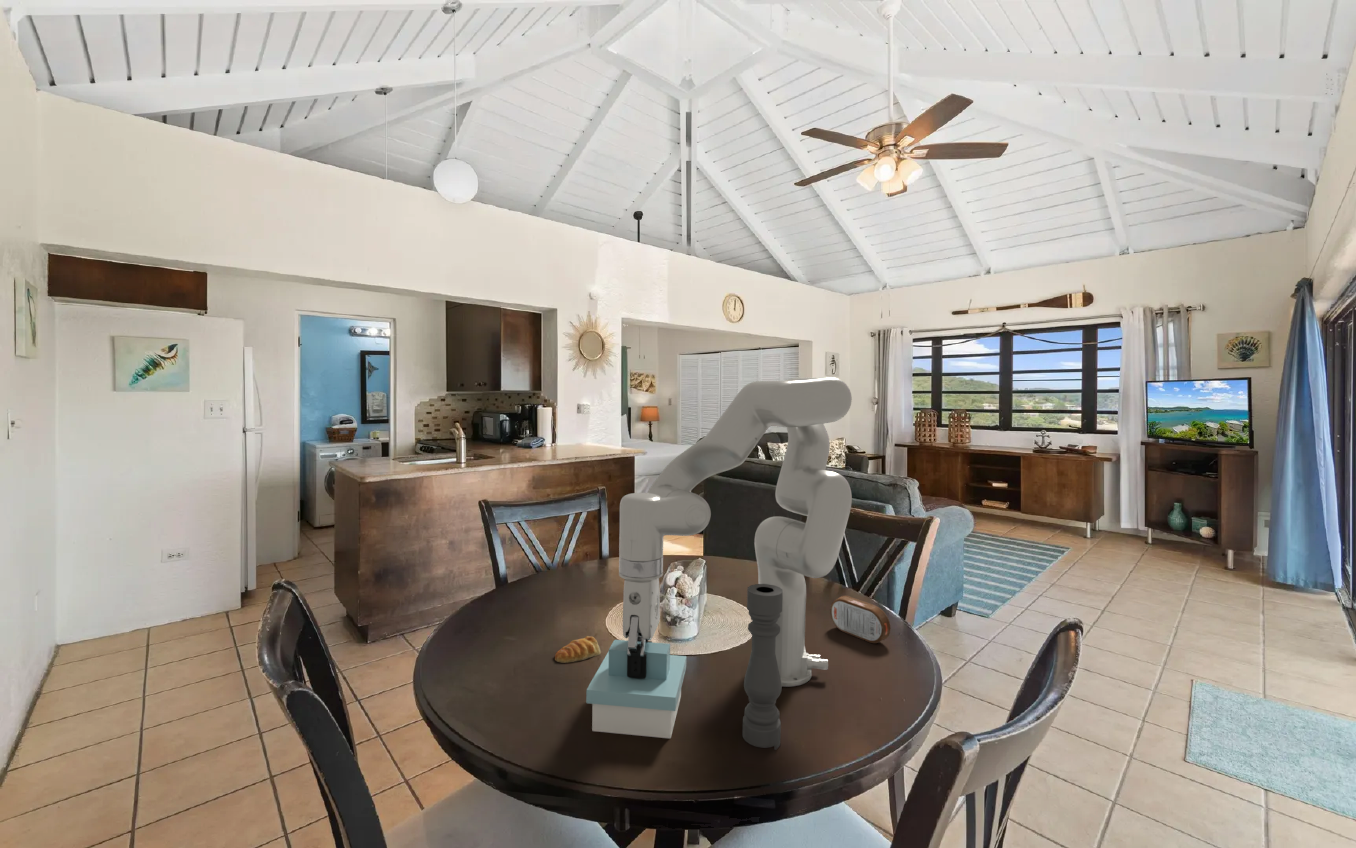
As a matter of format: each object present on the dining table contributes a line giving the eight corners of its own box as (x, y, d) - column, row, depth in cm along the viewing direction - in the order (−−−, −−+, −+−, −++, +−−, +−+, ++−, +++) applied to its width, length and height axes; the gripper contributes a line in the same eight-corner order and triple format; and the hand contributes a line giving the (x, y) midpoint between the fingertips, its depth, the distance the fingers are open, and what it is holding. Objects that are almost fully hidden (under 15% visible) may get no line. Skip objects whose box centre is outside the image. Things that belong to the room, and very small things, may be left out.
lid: (686, 668, 106) (686, 632, 105) (675, 711, 91) (676, 670, 91) (608, 661, 108) (609, 626, 107) (586, 703, 93) (586, 662, 93)
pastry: (564, 671, 116) (564, 653, 116) (548, 660, 121) (548, 642, 121) (603, 658, 122) (603, 640, 122) (585, 647, 127) (585, 630, 127)
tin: (890, 646, 130) (892, 609, 130) (882, 649, 128) (884, 612, 128) (835, 624, 142) (836, 591, 141) (827, 627, 140) (828, 593, 140)
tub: (680, 700, 105) (681, 663, 105) (670, 743, 92) (671, 700, 92) (611, 694, 107) (612, 657, 107) (592, 735, 94) (592, 693, 94)
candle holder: (776, 729, 97) (780, 583, 95) (784, 752, 91) (788, 596, 89) (739, 729, 97) (743, 583, 95) (745, 752, 90) (748, 596, 89)
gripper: (654, 583, 90) (652, 697, 90) (669, 553, 106) (668, 650, 107) (607, 580, 91) (606, 693, 91) (630, 551, 107) (628, 647, 108)
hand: (639, 669), depth 99 cm, fingers open, 4 cm apart
